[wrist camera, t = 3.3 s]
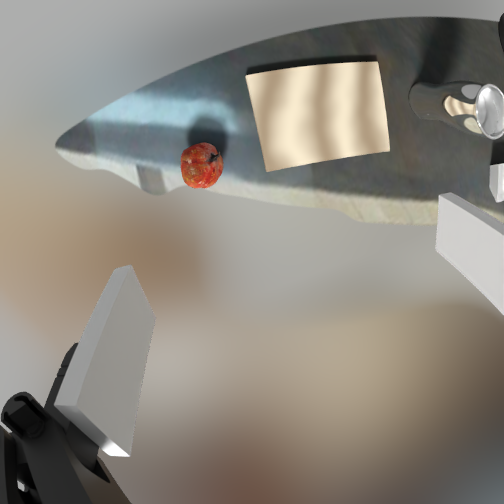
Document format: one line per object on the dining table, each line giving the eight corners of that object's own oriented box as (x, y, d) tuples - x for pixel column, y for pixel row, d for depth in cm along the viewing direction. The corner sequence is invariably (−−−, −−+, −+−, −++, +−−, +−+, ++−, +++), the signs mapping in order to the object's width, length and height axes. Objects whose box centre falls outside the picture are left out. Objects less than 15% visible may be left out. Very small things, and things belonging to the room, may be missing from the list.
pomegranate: (203, 184, 42) (243, 173, 37) (175, 200, 38) (215, 189, 33) (188, 147, 40) (227, 131, 35) (158, 160, 36) (196, 142, 31)
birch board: (373, 62, 33) (377, 61, 32) (386, 149, 39) (389, 150, 38) (245, 76, 34) (245, 75, 33) (265, 169, 40) (266, 171, 39)
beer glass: (403, 77, 34) (472, 78, 21) (439, 80, 34) (508, 86, 21) (408, 122, 38) (475, 140, 24) (442, 122, 38) (509, 141, 24)
